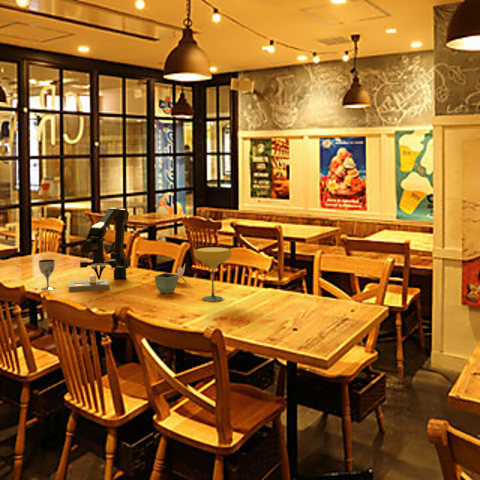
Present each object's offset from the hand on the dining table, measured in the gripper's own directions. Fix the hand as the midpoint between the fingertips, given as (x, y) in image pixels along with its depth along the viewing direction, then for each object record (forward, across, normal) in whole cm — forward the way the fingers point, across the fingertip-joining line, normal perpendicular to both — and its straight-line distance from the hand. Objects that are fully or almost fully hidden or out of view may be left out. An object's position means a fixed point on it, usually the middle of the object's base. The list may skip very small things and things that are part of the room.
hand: (99, 279), depth 297 cm
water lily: (+4, -42, +1) cm, 42 cm away
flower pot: (+4, -33, +21) cm, 39 cm away
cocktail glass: (+4, -53, +40) cm, 67 cm away
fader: (+3, +3, 0) cm, 4 cm away
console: (+4, +5, 0) cm, 6 cm away
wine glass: (+4, +26, -2) cm, 26 cm away
